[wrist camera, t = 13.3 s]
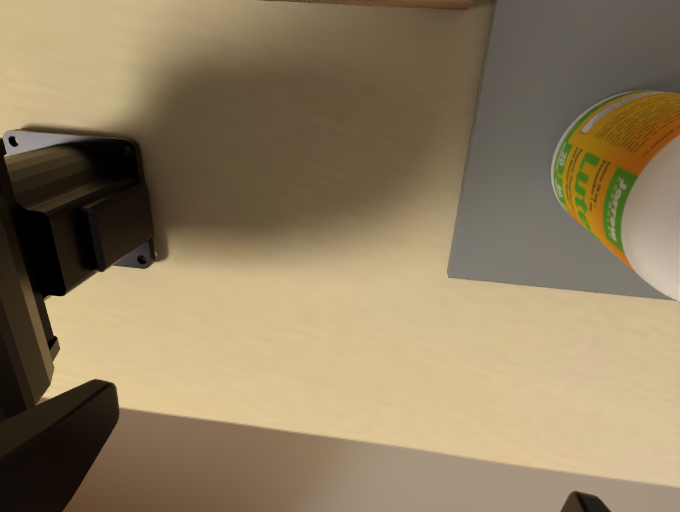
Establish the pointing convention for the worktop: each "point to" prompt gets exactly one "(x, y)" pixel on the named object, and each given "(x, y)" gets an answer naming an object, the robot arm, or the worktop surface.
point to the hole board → (398, 3)
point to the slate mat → (552, 136)
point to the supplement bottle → (627, 181)
